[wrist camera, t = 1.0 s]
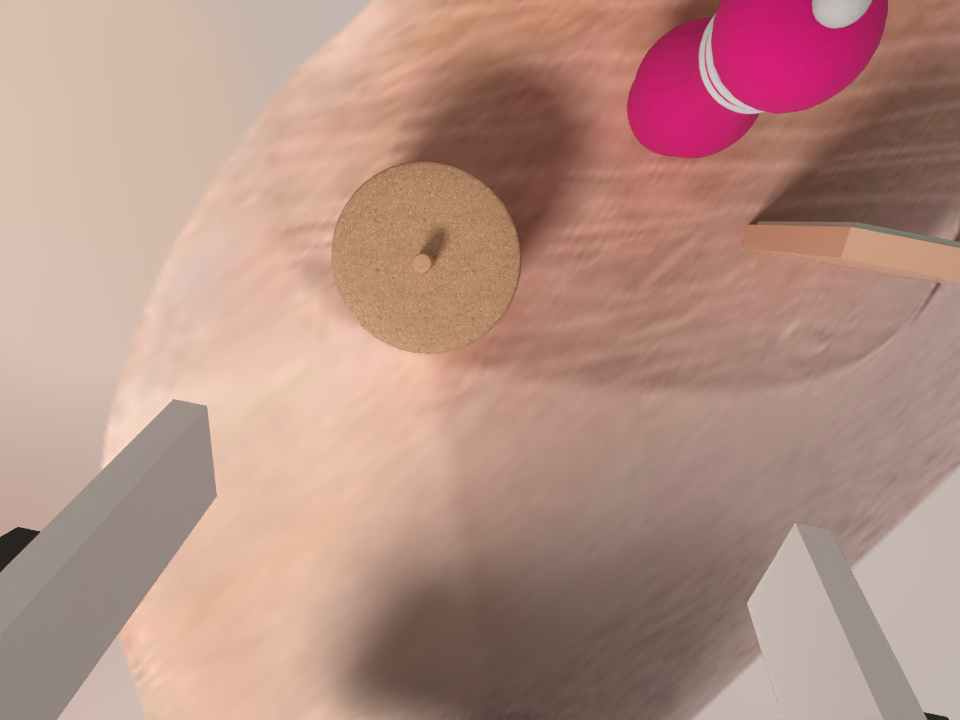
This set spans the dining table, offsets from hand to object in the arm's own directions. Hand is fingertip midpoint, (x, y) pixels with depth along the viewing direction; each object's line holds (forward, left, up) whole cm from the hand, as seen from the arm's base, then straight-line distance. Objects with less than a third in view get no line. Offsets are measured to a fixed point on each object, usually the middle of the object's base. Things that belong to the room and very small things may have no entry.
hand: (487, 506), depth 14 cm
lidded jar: (+3, +5, -29) cm, 30 cm away
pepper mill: (+15, -9, -29) cm, 34 cm away
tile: (+8, -20, -29) cm, 36 cm away
